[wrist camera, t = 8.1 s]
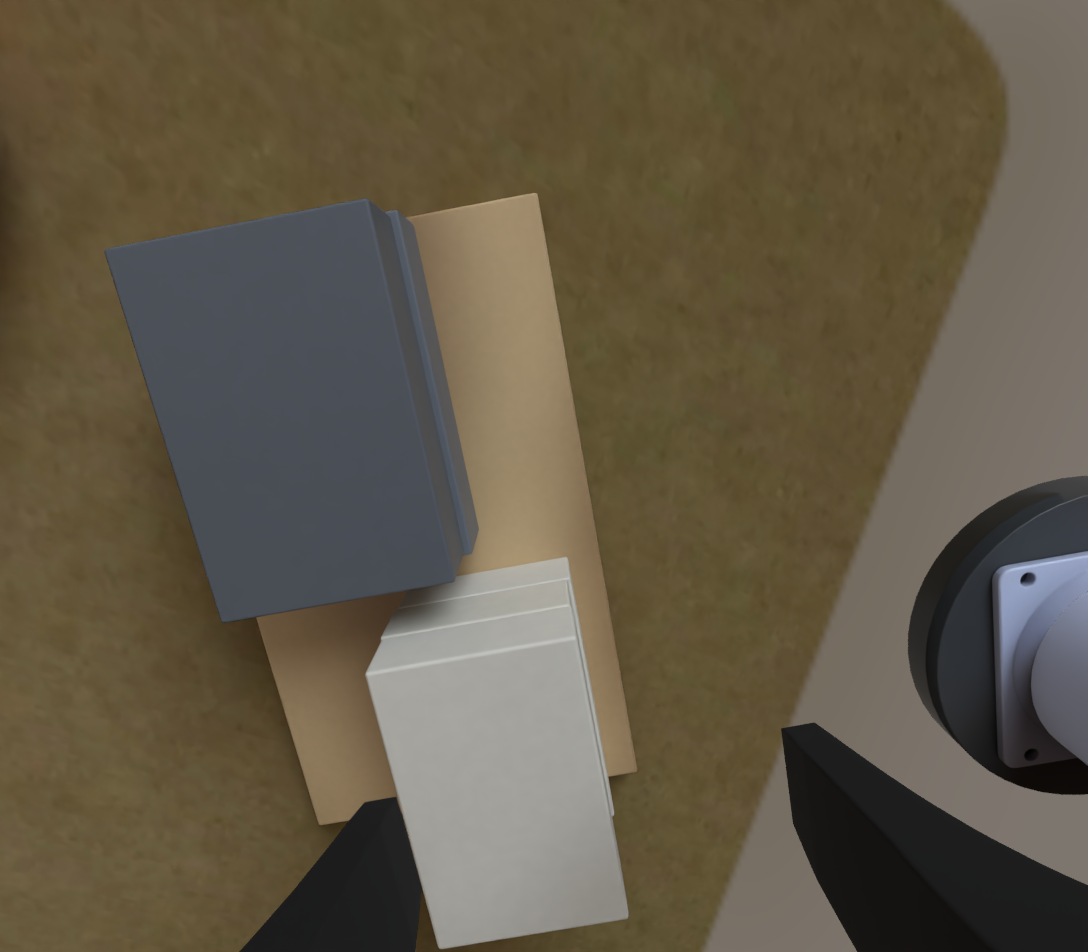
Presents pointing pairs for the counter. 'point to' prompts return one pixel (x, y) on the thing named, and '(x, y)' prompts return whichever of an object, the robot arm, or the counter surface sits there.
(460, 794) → the white book
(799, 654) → the counter surface
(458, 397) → the shelf board
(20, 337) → the counter surface
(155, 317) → the grey books
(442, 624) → the white books
